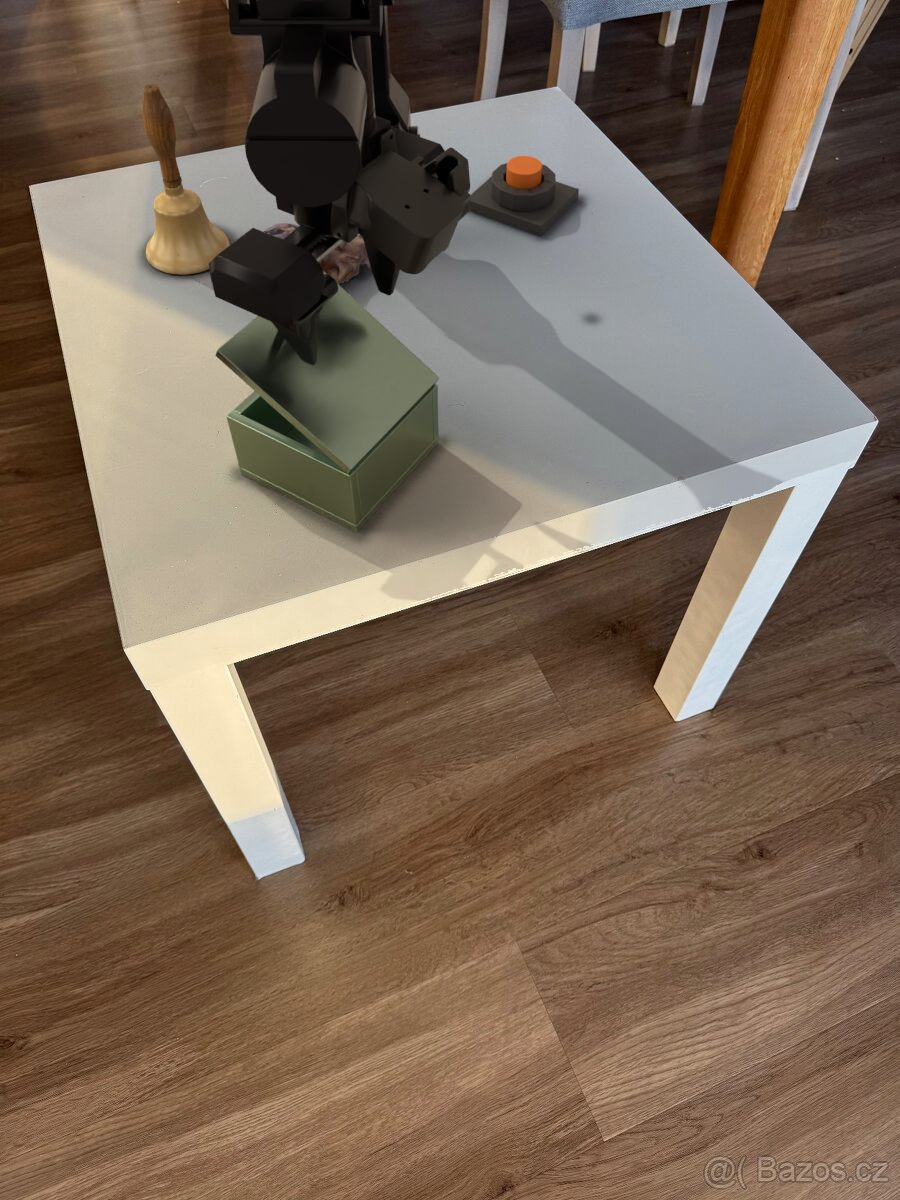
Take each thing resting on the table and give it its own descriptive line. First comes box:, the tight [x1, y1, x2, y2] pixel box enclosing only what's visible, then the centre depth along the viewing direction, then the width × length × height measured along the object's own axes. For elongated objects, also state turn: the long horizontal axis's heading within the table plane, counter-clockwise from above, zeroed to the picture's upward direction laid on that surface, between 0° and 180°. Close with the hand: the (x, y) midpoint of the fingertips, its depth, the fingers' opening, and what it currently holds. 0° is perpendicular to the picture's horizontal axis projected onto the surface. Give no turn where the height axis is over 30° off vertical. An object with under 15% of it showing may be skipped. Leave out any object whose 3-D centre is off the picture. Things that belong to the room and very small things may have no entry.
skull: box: [263, 222, 371, 286], centre depth 90 cm, size 12×8×6 cm, turn 105°
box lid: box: [215, 272, 440, 474], centre depth 68 cm, size 12×12×5 cm
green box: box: [226, 383, 439, 533], centre depth 75 cm, size 12×12×6 cm
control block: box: [469, 162, 580, 237], centre depth 98 cm, size 9×8×3 cm
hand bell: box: [141, 83, 231, 276], centre depth 88 cm, size 8×8×16 cm
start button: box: [506, 155, 543, 189], centre depth 97 cm, size 4×4×2 cm
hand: (349, 326), depth 68 cm, fingers open, 9 cm apart
